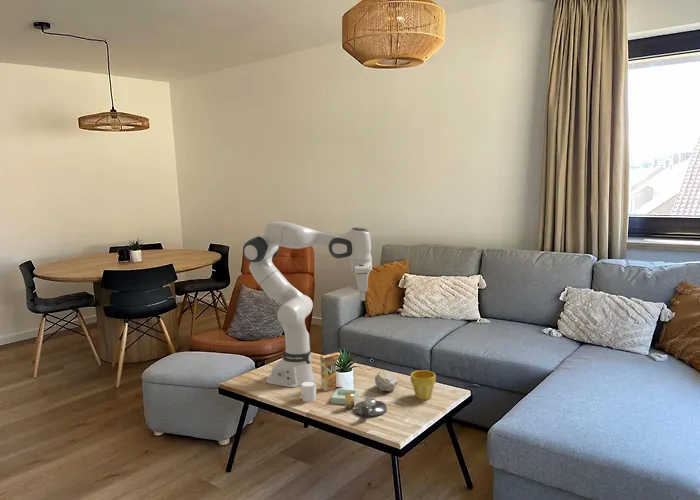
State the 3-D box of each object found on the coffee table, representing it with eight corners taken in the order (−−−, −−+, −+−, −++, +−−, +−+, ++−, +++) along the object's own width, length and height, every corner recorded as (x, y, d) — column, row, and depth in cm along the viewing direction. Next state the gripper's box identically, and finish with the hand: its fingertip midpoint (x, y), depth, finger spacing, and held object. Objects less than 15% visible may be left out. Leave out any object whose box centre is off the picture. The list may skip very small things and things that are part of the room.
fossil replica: (394, 383, 238) (373, 387, 236) (392, 365, 237) (371, 369, 236) (401, 391, 226) (379, 396, 224) (399, 373, 225) (376, 377, 224)
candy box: (325, 391, 231) (324, 358, 229) (321, 388, 234) (319, 355, 232) (343, 387, 235) (341, 354, 233) (338, 384, 239) (337, 351, 237)
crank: (366, 404, 213) (365, 394, 213) (376, 404, 212) (376, 395, 212) (359, 417, 201) (358, 407, 201) (370, 418, 200) (369, 408, 200)
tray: (331, 402, 219) (331, 397, 218) (337, 394, 227) (337, 388, 227) (352, 404, 216) (352, 399, 216) (358, 395, 225) (357, 390, 225)
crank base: (350, 415, 206) (350, 412, 206) (358, 401, 219) (358, 398, 218) (382, 418, 203) (382, 415, 203) (389, 404, 215) (389, 401, 215)
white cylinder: (317, 395, 226) (316, 380, 226) (316, 402, 220) (316, 386, 219) (301, 396, 226) (300, 381, 225) (300, 403, 220) (299, 387, 219)
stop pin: (344, 409, 212) (344, 395, 211) (347, 406, 215) (346, 392, 214) (353, 410, 211) (352, 396, 210) (355, 406, 214) (354, 392, 213)
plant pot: (414, 390, 228) (414, 368, 227) (438, 393, 225) (437, 371, 223) (408, 399, 219) (407, 377, 218) (432, 402, 215) (432, 380, 214)
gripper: (354, 262, 232) (355, 293, 234) (353, 270, 212) (355, 303, 213) (368, 261, 232) (370, 292, 234) (369, 269, 212) (371, 303, 213)
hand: (363, 297), depth 223 cm, fingers open, 8 cm apart
